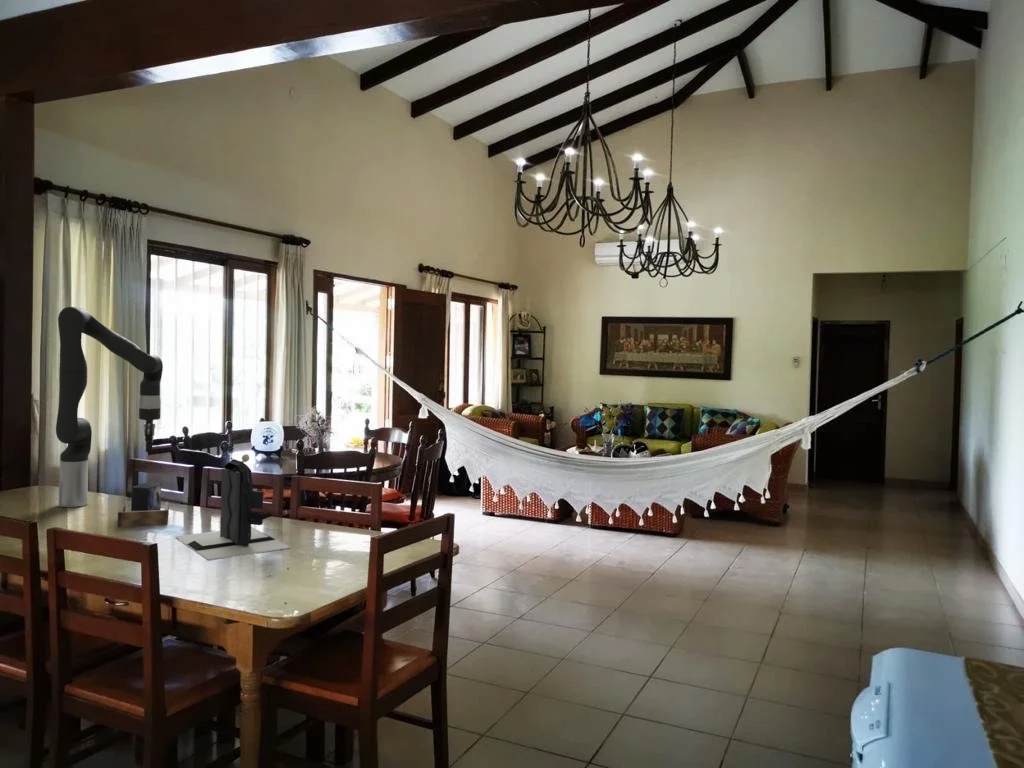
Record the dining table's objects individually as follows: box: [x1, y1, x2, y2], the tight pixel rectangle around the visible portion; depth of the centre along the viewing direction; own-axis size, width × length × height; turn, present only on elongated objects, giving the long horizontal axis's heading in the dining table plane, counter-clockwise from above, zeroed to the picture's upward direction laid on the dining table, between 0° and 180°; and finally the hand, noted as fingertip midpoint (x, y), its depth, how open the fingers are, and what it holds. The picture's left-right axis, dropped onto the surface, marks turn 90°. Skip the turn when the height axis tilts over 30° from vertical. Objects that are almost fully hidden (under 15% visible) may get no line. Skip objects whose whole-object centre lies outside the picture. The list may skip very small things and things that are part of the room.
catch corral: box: [117, 501, 170, 528], centre depth 268 cm, size 15×15×5 cm
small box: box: [130, 482, 162, 511], centre depth 281 cm, size 11×6×10 cm, turn 179°
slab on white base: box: [174, 453, 291, 561], centre depth 243 cm, size 32×25×28 cm
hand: (149, 451), depth 292 cm, fingers closed
